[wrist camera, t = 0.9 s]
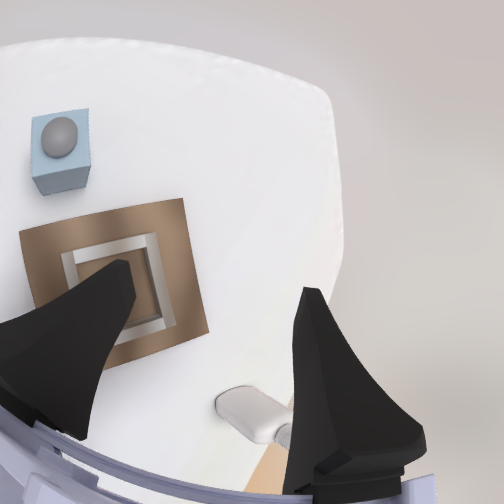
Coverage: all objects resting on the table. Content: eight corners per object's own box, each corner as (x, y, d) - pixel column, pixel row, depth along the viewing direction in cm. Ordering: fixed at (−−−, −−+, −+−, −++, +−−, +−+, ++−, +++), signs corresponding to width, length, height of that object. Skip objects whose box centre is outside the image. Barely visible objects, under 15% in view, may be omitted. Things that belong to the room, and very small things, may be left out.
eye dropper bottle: (244, 416, 30) (314, 464, 21) (209, 410, 27) (279, 469, 18) (259, 387, 32) (334, 429, 22) (224, 378, 29) (302, 428, 19)
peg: (43, 195, 18) (29, 173, 11) (40, 150, 17) (30, 111, 11) (85, 186, 20) (91, 160, 13) (82, 143, 19) (90, 101, 13)
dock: (64, 377, 18) (64, 389, 16) (21, 232, 17) (15, 230, 15) (204, 329, 27) (216, 336, 25) (178, 199, 25) (189, 195, 23)
